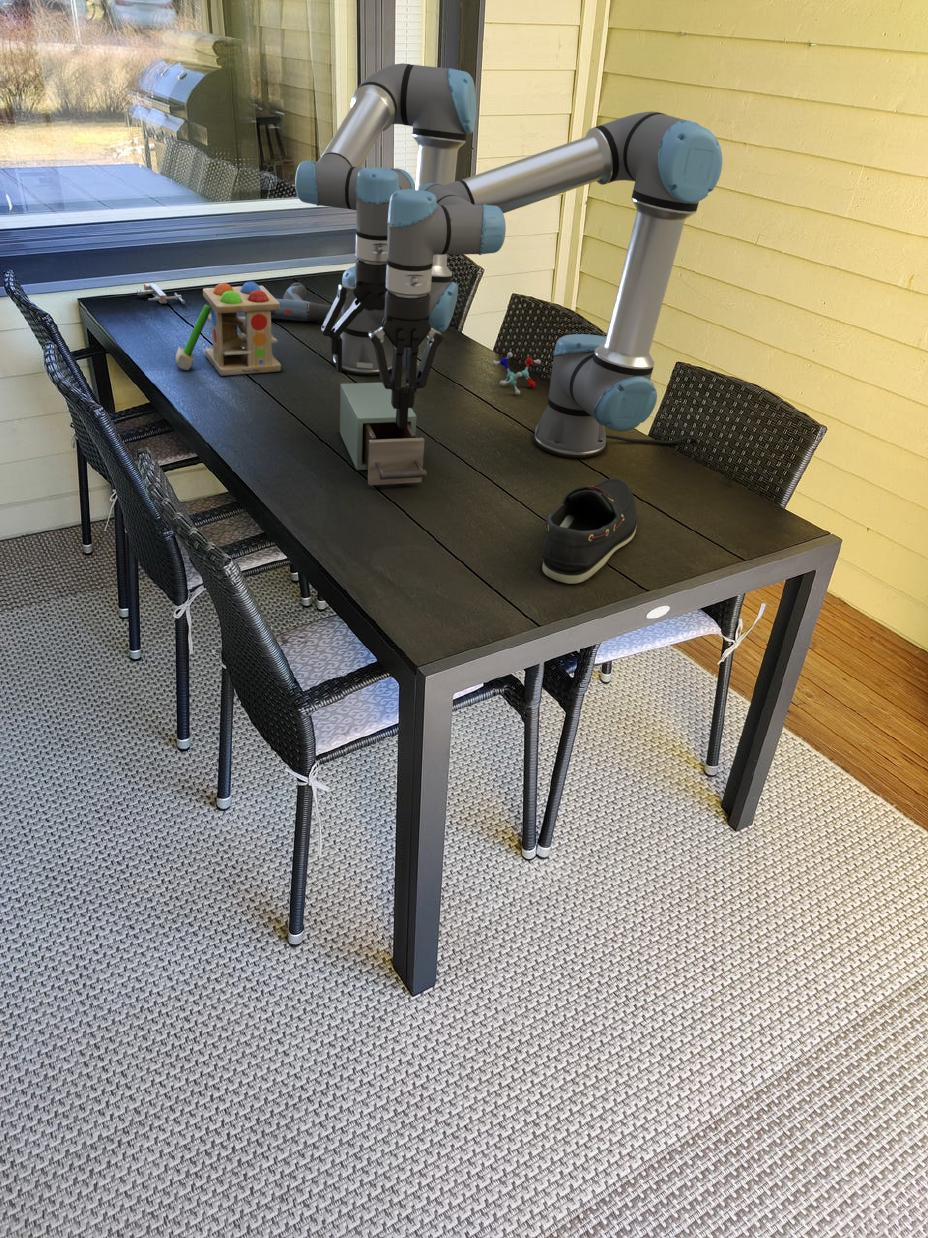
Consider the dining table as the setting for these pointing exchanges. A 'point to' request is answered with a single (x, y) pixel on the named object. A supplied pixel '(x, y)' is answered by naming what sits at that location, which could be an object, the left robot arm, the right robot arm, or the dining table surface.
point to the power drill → (299, 306)
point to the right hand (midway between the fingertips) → (401, 424)
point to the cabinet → (365, 414)
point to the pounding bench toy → (229, 347)
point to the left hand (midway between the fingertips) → (372, 368)
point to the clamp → (158, 294)
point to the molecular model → (511, 375)
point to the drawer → (392, 454)
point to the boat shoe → (588, 530)
